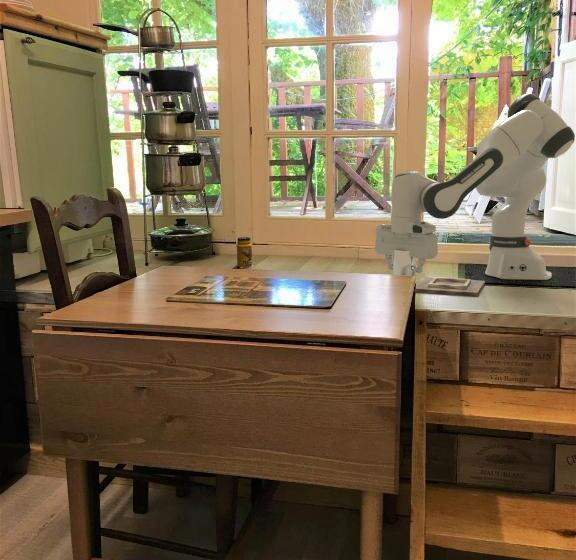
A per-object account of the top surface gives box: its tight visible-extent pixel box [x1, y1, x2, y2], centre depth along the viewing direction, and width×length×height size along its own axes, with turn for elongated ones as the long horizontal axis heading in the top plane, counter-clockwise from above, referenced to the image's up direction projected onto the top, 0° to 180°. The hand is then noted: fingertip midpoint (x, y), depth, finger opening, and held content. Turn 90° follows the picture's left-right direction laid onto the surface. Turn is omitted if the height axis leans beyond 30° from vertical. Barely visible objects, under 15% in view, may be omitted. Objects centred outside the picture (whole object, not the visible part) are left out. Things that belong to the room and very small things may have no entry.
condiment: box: [232, 236, 255, 269], centre depth 251 cm, size 7×8×12 cm
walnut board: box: [415, 276, 486, 297], centre depth 204 cm, size 20×20×2 cm
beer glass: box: [392, 249, 417, 277], centre depth 191 cm, size 7×7×15 cm
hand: (404, 270), depth 191 cm, fingers open, 8 cm apart
